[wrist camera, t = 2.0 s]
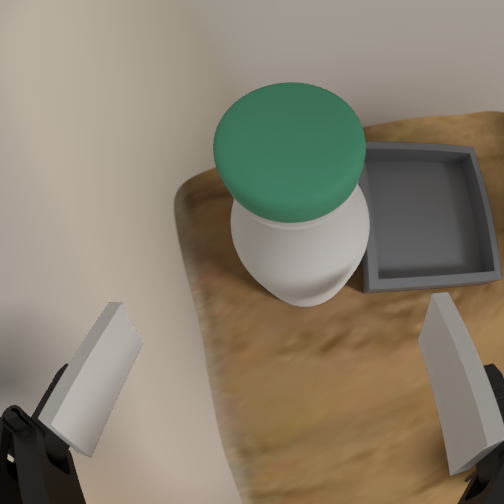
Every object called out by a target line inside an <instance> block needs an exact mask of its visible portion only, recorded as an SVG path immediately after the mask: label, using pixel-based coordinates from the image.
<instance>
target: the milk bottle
mask: <svg viewBox="0 0 504 504" xmlns="http://www.w3.org/2000/svg"><path fill="white" fill-rule="evenodd" d="M213 147H214V148H213V150H214V160H215V164H216V168H217V170H218V173H219V175H220V177H221V179H222V181H223V183H224V184H225V186H226V188H227V189H228V190H229V192H230V193H231V194H232V196H233V198H234V201H233V206H232V212H231V232H232V239H233V243H234V246H235V249H236V251H237V253H238V256H239V258H240V260H241V262H242V263H243V265H244V266H245V268H246V269H247V270H248V271H249V273H250V274H251V275H252V276H253V277H254V278H255V279H256V280H257V281H258V282H259V283H260V284H261V285H262V286H263V287H265V288H266V289H267V290H268V291H269V292H271V293H272V294H273V295H275V296H276V297H277V298H279V299H280V300H282V301H284V302H286V303H288V304H291V305H294V306H300V307H309V306H315V305H319V304H321V303H323V302H325V301H327V300H329V299H330V298H332V297H333V296H334V295H335V294H336V293H337V292H338V291H339V290H340V289H341V288H342V287H343V286H344V284H345V283H346V282H347V281H348V279H349V278H350V277H351V276H352V274H353V273H354V271H355V270H356V268H357V267H358V265H359V263H360V261H361V259H362V257H363V255H364V253H365V250H366V247H367V242H368V237H369V230H370V220H369V212H368V207H367V203H366V200H365V197H364V195H363V193H362V190H361V188H360V187H359V185H358V182H359V178H360V176H361V173H362V170H363V165H364V160H365V154H366V142H365V136H364V132H363V128H362V125H361V123H360V121H359V118H358V117H357V116H356V114H355V112H354V111H353V110H352V108H351V107H350V106H349V105H348V104H347V103H346V102H345V101H344V100H342V99H341V98H340V97H338V96H337V95H335V94H333V93H332V92H330V91H328V90H326V89H323V88H321V87H317V86H314V85H309V84H304V83H278V84H273V85H268V86H265V87H262V88H259V89H257V90H254V91H252V92H250V93H248V94H247V95H245V96H243V97H242V98H240V99H239V100H238V101H237V102H235V103H234V104H233V105H232V106H231V107H230V108H229V109H228V110H227V112H226V113H225V114H224V116H223V117H222V119H221V120H220V122H219V124H218V127H217V129H216V132H215V136H214V144H213Z"/></svg>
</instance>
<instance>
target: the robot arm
mask: <svg viewBox="0 0 504 504" xmlns="http://www.w3.org/2000/svg"><path fill="white" fill-rule="evenodd" d="M418 343H419V346H420V349H421V352H422V356H423V359H424V362H425V365H426V369H427V372H428V376H429V379H430V383H431V387H432V390H433V394H434V398H435V402H436V406H437V410H438V414H439V419H440V423H441V428H442V433H443V438H444V443H445V448H446V453H447V459H448V465H449V472H450V476H451V475H455V474H458V473H461V472H464V471H467V470H469V469H470V468H472V467H473V466H474V465H476V468H477V470H476V471H475V472H473V473H472V474H471V475H469V476H468V477H467V478H466V480H465V482H467V481H469V480H470V479H471V481H470V483H469V484H468V486H467V488H466V490H465V492H464V493H463V495H462V497H461V499H460V500H459V502H458V504H504V378H503V375H502V373H501V372H500V371H499V370H498V369H497V367H496V366H495V365H494V364H489V365H485V366H483V364H482V362H481V360H480V357H479V355H478V353H477V350H476V348H475V346H474V344H473V341H472V339H471V337H470V335H469V333H468V331H467V329H466V326H465V324H464V322H463V320H462V318H461V316H460V314H459V312H458V310H457V308H456V306H455V304H454V303H453V301H452V299H451V297H450V295H449V293H448V292H445V293H435V294H432V296H431V300H430V303H429V307H428V310H427V314H426V317H425V320H424V324H423V327H422V330H421V333H420V336H419V339H418ZM142 346H143V343H142V341H141V339H140V338H139V336H138V334H137V332H136V330H135V328H134V326H133V324H132V322H131V320H130V318H129V316H128V314H127V312H126V310H125V307H124V305H123V303H118V302H109V304H108V305H107V306H106V308H105V309H104V311H103V312H102V314H101V315H100V317H99V318H98V320H97V321H96V323H95V324H94V326H93V327H92V329H91V330H90V332H89V333H88V335H87V336H86V338H85V339H84V341H83V343H82V344H81V346H80V347H79V349H78V350H77V352H76V353H75V355H74V357H73V358H72V360H71V361H70V363H69V364H65V365H64V366H63V367H62V368H61V369H60V370H59V371H58V372H57V374H56V375H55V377H54V379H53V382H52V383H51V384H50V385H49V388H48V390H47V391H46V393H45V394H44V396H43V397H42V399H41V401H40V403H39V405H38V406H37V408H36V410H35V412H34V413H33V415H32V416H31V417H29V416H28V415H27V414H26V413H25V412H24V411H23V410H22V409H21V408H20V407H19V406H17V405H13V406H10V407H8V408H7V409H6V410H5V411H4V412H3V415H2V417H0V504H86V502H85V499H84V496H83V493H82V490H81V487H80V483H79V480H78V476H77V473H76V469H75V466H74V462H73V458H72V455H71V453H70V451H69V450H68V449H69V447H72V448H73V449H74V450H76V451H77V452H79V453H81V454H83V455H86V456H88V457H92V455H93V453H94V450H95V448H96V446H97V443H98V441H99V438H100V436H101V434H102V431H103V429H104V427H105V424H106V422H107V420H108V418H109V415H110V413H111V411H112V409H113V407H114V404H115V402H116V400H117V398H118V396H119V394H120V391H121V389H122V387H123V385H124V383H125V381H126V379H127V376H128V374H129V372H130V370H131V368H132V366H133V364H134V362H135V360H136V358H137V356H138V353H139V351H140V350H141V347H142ZM8 454H9V455H10V456H12V457H13V458H14V461H13V462H11V461H9V460H8V459H7V457H8Z"/></svg>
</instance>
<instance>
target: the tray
mask: <svg viewBox="0 0 504 504" xmlns="http://www.w3.org/2000/svg"><path fill="white" fill-rule="evenodd" d="M358 185H359V187H360V188H361V190H362V193H363V195H364V197H365V200H366V203H367V207H368V212H369V220H370V230H369V237H368V242H367V247H366V250H365V253H364V255H363V257H362V274H363V293H378V292H394V291H409V290H423V289H436V288H448V287H459V286H469V285H479V284H487V283H491V282H494V281H497V280H501V279H502V278H501V268H500V260H499V252H498V246H497V239H496V234H495V228H494V223H493V218H492V213H491V208H490V204H489V200H488V196H487V192H486V188H485V184H484V180H483V177H482V173H481V170H480V167H479V163H478V160H477V157H476V154H475V151H474V148H473V147H466V146H456V145H443V144H429V143H409V142H366V154H365V160H364V165H363V170H362V173H361V176H360V178H359V182H358Z"/></svg>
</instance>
